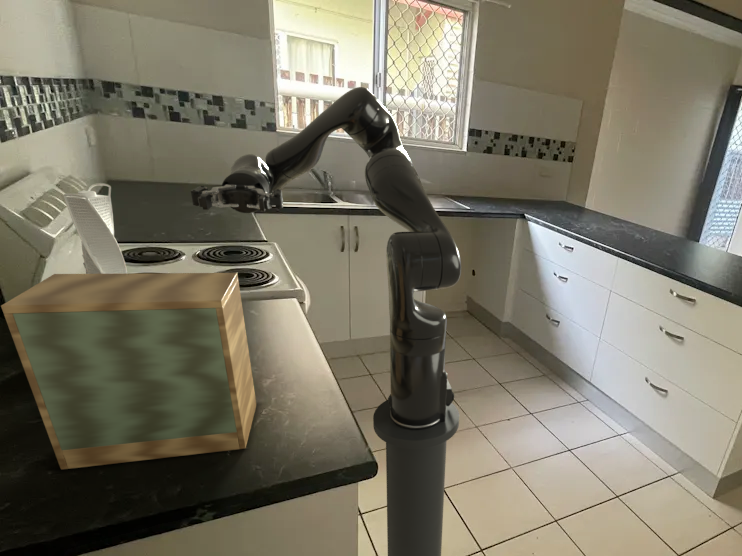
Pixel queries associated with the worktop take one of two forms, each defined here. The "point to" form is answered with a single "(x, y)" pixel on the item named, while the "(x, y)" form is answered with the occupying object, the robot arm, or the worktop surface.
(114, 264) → the box grater
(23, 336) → the shelf unit
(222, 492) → the worktop surface
